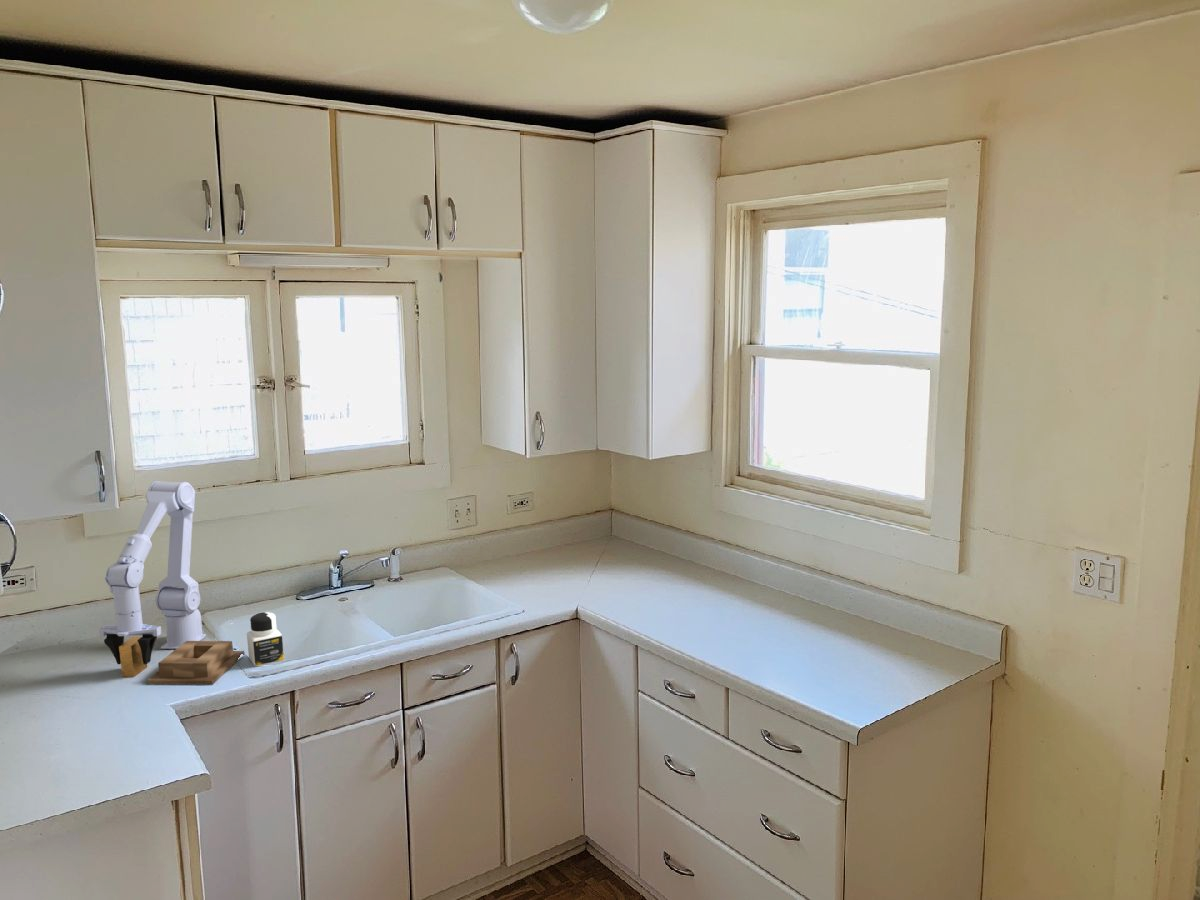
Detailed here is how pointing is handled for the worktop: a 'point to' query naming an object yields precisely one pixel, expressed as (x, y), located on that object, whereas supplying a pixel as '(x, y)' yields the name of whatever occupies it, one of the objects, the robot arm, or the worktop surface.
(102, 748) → the worktop surface
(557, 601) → the worktop surface
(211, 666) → the well board
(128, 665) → the wooden peg block
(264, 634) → the medicine bottle
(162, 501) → the robot arm
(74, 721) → the worktop surface
